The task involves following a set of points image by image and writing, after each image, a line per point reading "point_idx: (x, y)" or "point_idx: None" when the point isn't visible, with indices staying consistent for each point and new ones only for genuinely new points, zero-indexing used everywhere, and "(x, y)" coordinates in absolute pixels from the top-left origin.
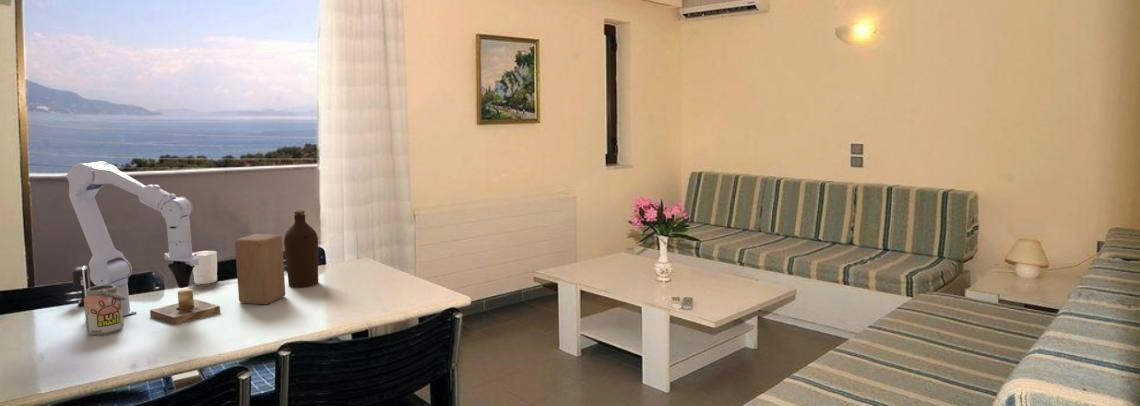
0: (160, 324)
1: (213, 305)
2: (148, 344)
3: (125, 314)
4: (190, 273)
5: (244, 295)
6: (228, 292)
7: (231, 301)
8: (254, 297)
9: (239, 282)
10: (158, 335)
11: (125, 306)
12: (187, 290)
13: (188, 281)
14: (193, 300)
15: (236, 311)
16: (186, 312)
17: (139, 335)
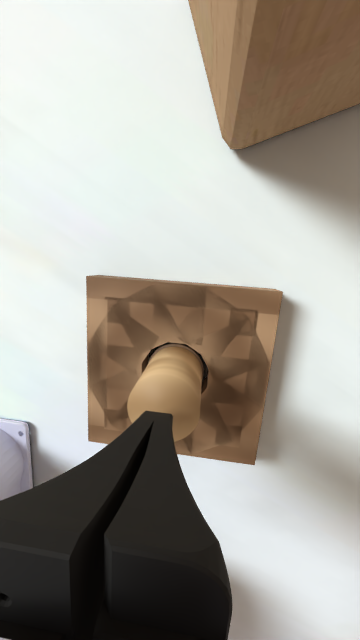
0: (205, 460)
1: (248, 300)
2: (351, 577)
3: (28, 454)
4: (182, 478)
5: (275, 122)
6: (12, 56)
7: (165, 152)
8: (338, 101)
9: (266, 79)
10: (303, 524)
11: (2, 467)
12: (165, 399)
13: (172, 436)
14: (190, 361)
15: (323, 243)
16: (236, 410)
17: (250, 540)
